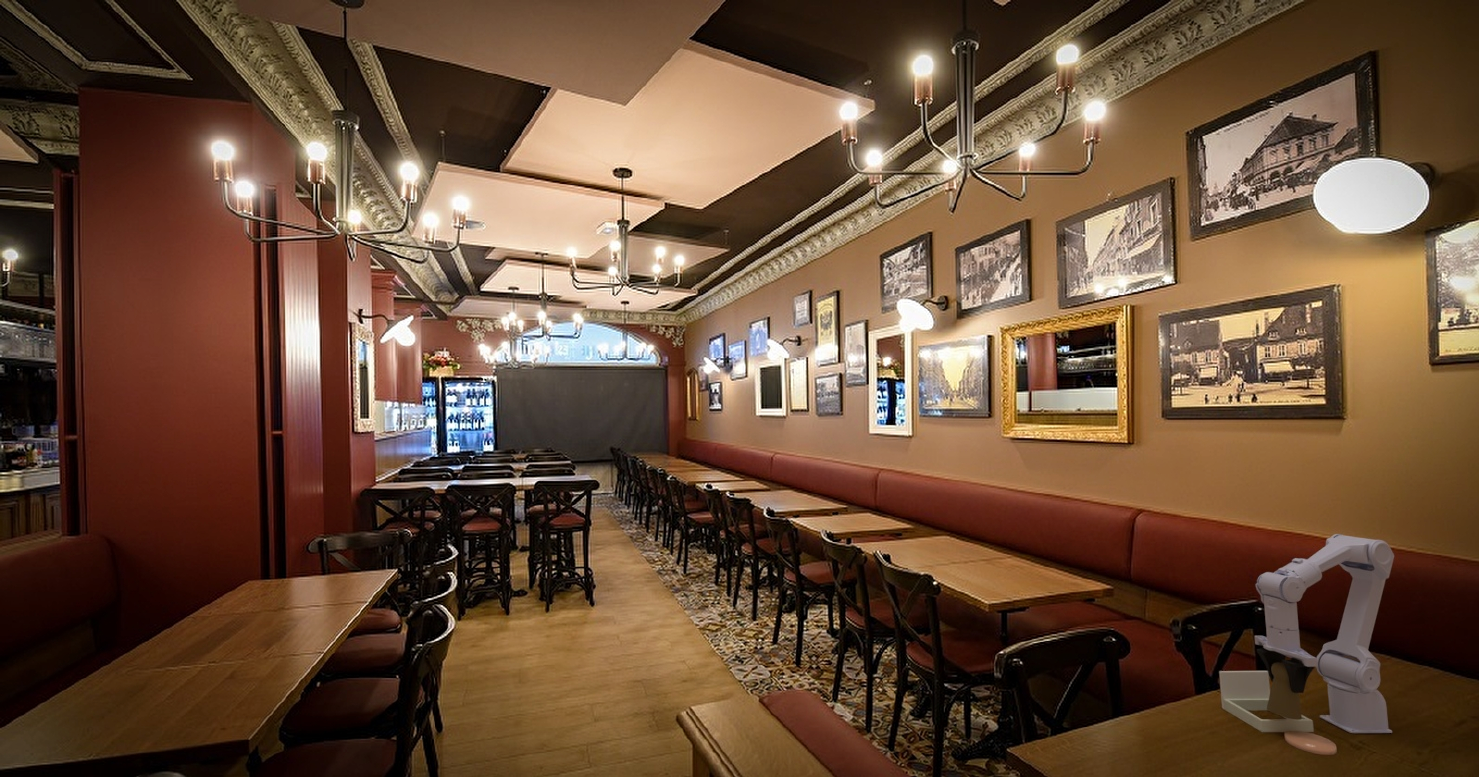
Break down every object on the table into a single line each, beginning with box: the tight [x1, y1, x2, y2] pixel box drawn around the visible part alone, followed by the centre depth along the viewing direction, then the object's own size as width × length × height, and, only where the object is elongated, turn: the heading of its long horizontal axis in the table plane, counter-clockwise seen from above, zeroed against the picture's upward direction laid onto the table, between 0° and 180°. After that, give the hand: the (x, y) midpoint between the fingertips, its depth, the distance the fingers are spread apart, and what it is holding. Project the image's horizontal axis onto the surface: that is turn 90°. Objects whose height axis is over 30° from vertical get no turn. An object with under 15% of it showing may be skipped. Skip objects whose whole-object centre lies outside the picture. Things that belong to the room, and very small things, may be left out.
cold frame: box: [1218, 670, 1315, 733], centre depth 146 cm, size 12×12×9 cm
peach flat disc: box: [1284, 731, 1338, 756], centre depth 134 cm, size 8×8×1 cm
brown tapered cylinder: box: [1267, 662, 1303, 720], centre depth 140 cm, size 6×6×11 cm
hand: (1287, 686), depth 140 cm, fingers closed on brown tapered cylinder, 5 cm apart
